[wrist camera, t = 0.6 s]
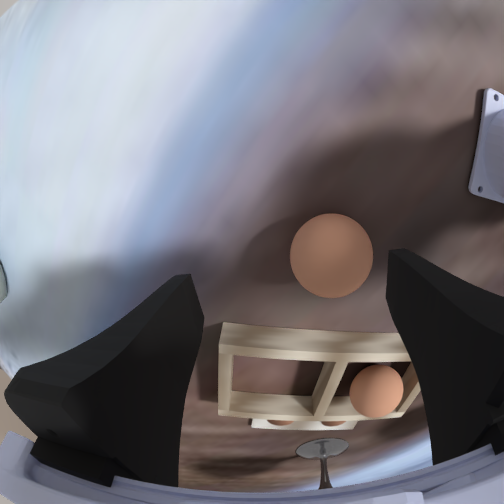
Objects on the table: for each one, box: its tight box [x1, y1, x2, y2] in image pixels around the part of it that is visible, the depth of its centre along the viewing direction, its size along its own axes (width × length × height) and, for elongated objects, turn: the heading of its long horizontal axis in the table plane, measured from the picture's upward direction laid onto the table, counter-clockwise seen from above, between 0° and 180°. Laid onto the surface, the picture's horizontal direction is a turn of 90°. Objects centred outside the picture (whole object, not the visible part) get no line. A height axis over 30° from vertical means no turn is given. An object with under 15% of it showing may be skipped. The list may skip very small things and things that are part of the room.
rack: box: [218, 322, 421, 430], centre depth 26 cm, size 19×16×2 cm
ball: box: [350, 365, 403, 418], centre depth 24 cm, size 5×5×5 cm
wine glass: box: [296, 438, 349, 490], centre depth 27 cm, size 8×8×15 cm
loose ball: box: [290, 213, 373, 298], centre depth 18 cm, size 5×5×5 cm
